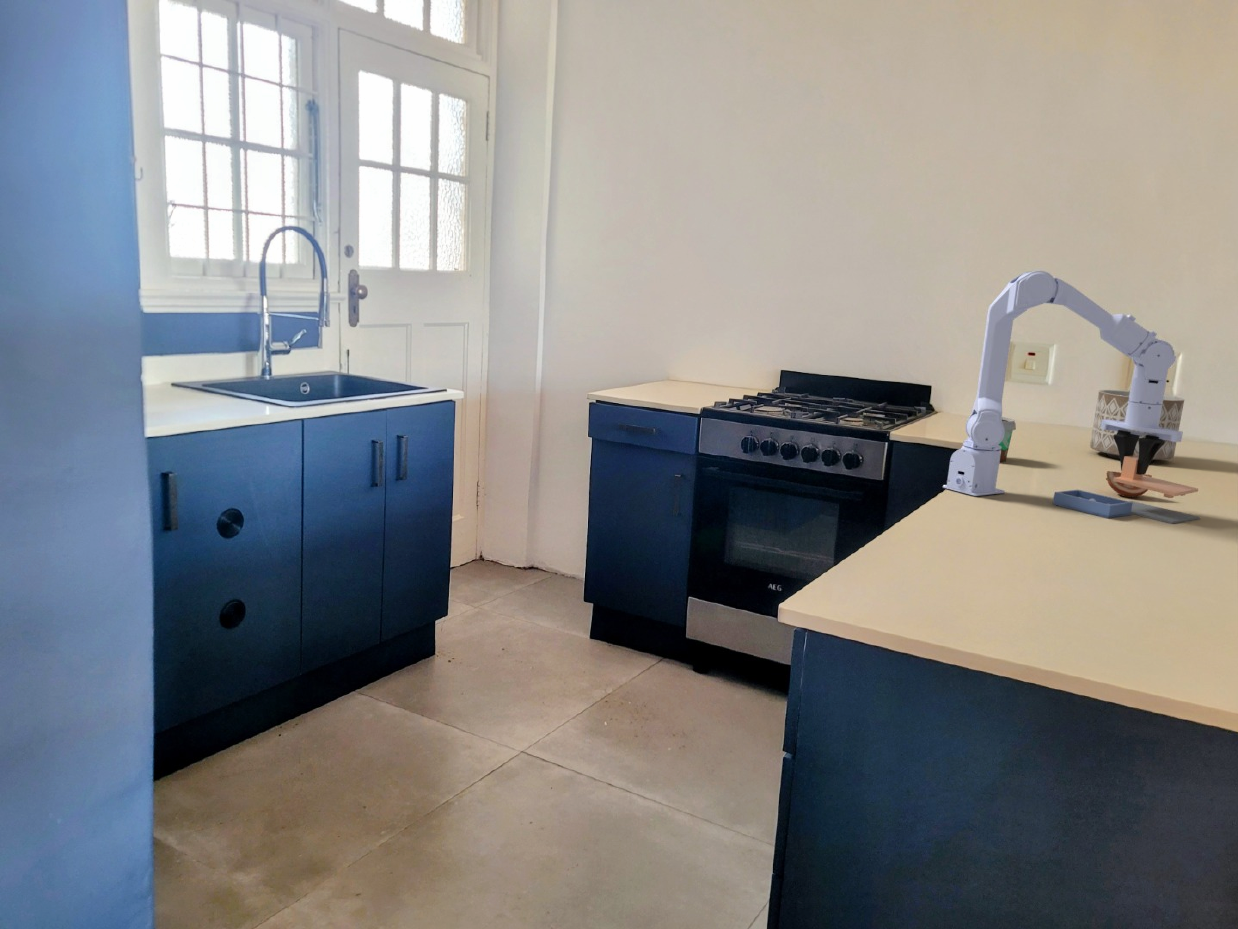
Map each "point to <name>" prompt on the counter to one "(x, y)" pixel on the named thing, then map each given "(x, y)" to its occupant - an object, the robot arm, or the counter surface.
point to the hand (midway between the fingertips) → (1133, 472)
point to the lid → (1149, 480)
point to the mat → (1160, 513)
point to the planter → (1115, 408)
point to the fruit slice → (1120, 487)
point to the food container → (1006, 437)
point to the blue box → (1092, 503)
